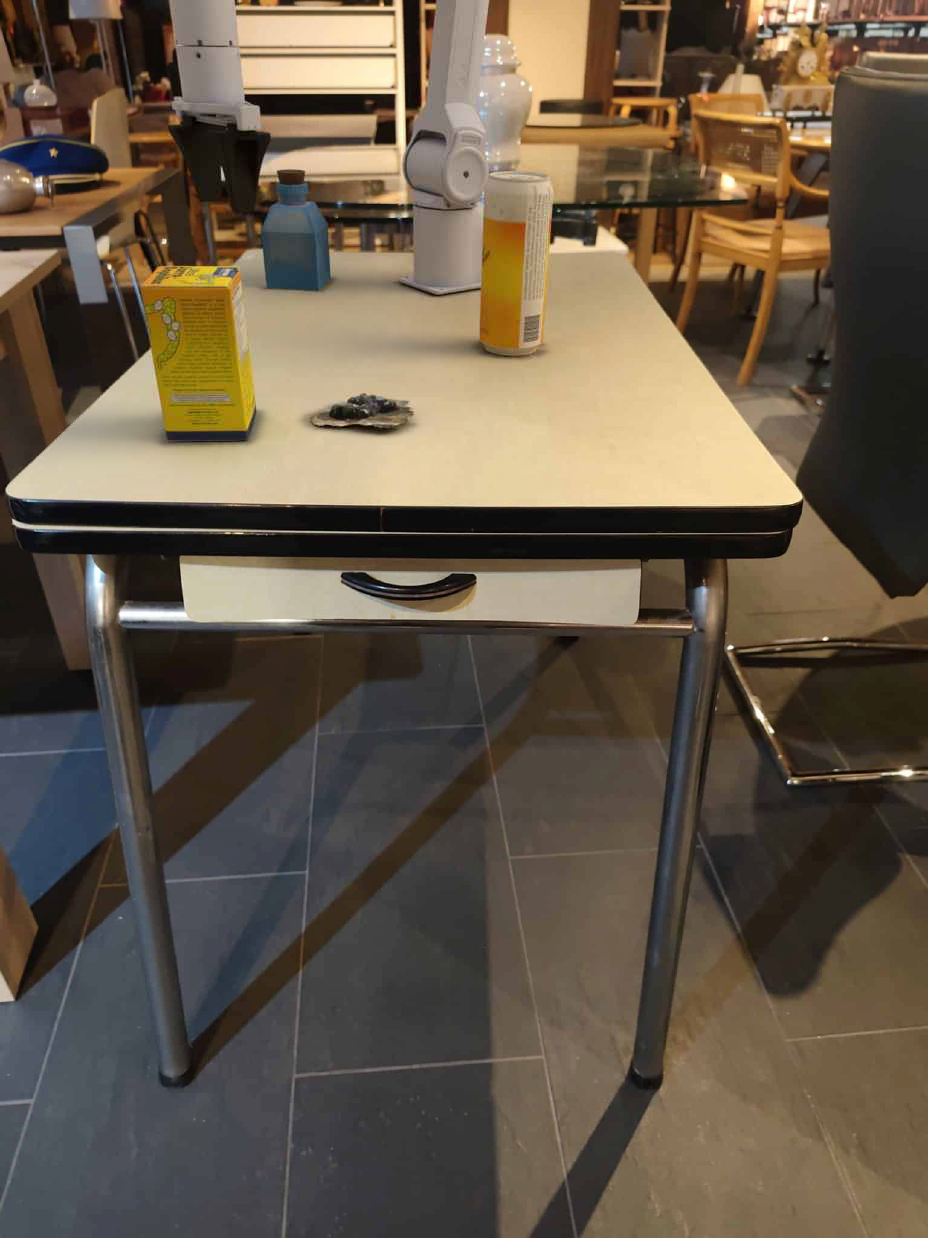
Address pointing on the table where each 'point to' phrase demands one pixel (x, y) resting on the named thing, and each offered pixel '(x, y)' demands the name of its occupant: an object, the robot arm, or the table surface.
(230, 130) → the robot arm
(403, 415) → the grey flat lumpy piece
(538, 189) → the beer can
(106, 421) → the table surface
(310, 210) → the perfume bottle
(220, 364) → the supplement box
